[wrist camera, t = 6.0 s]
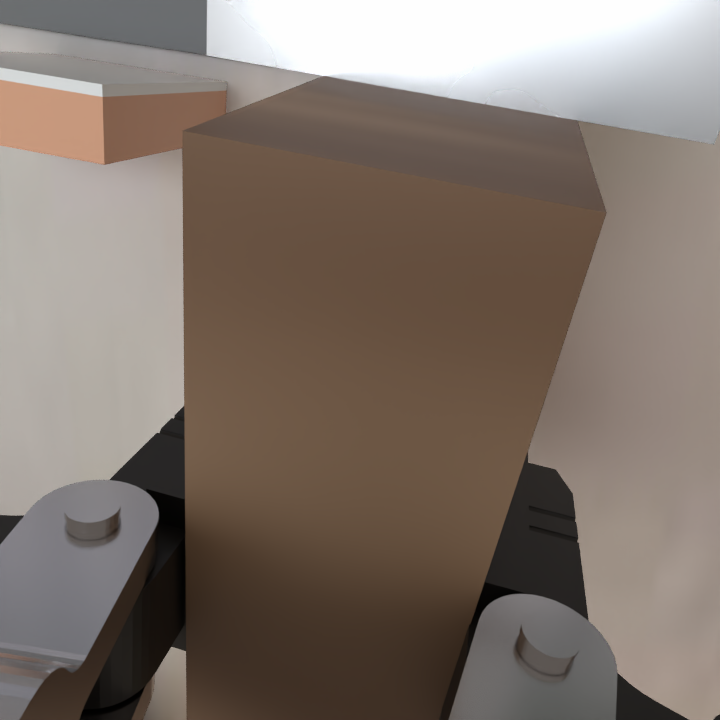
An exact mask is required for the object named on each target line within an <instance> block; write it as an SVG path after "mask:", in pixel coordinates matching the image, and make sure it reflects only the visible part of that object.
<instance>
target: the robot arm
mask: <svg viewBox="0 0 720 720" xmlns="http://www.w3.org/2000/svg"><path fill="white" fill-rule="evenodd" d="M575 518H576V517H575V509H574V501H573V493H572V492H571V491H570V489H569V488H568V486H567V485H566V484H565V482H564V481H563V479H562V478H561V476H560V475H559V474H558V472H557V471H556V470H555V469H551V468H547V467H543V466H539V465H535V464H531V463H528V452H527V455H526V458H525V461H524V464H523V467H522V470H521V473H520V476H519V479H518V482H517V485H516V488H515V491H514V494H513V497H512V500H511V503H510V506H509V509H508V512H507V515H506V518H505V521H504V524H503V527H502V530H501V533H500V536H499V540H498V543H497V546H496V549H495V552H494V555H493V558H492V561H491V564H490V567H489V570H488V573H487V576H486V579H485V582H484V585H483V588H482V591H481V594H480V597H479V600H478V603H477V606H476V609H475V612H474V615H473V618H472V621H471V624H470V625H469V627H468V630H467V633H466V636H465V639H464V642H463V645H462V648H461V651H460V654H459V658H458V661H457V664H456V667H455V670H454V673H453V676H452V679H451V682H450V685H449V688H448V691H447V694H446V697H445V701H444V704H443V707H442V712H441V715H440V718H439V720H688V719H687V718H685V717H683V716H681V715H679V714H678V713H676V712H674V711H672V710H670V709H669V708H667V707H665V706H663V705H661V704H660V703H658V702H656V701H654V700H653V699H651V698H649V697H648V696H646V695H644V694H643V693H641V692H640V691H639V690H637V689H636V688H635V687H633V686H632V685H631V684H629V683H628V682H627V681H626V680H625V679H624V678H623V677H621V676H620V675H619V674H618V673H617V665H616V661H615V658H614V655H613V653H612V650H611V648H610V646H609V645H608V643H607V642H606V640H605V639H604V637H603V636H602V635H601V633H600V632H599V631H598V630H597V629H596V628H595V627H594V626H593V625H592V624H591V623H590V622H589V621H588V613H587V605H586V597H585V589H584V581H583V573H582V565H581V557H580V549H579V543H577V540H578V533H577V525H576V522H575ZM171 647H175V648H178V649H181V650H185V651H186V554H185V418H184V407H183V408H182V409H181V410H180V411H179V412H178V413H176V414H175V418H174V419H173V418H171V419H170V420H169V421H168V422H167V423H166V424H165V425H164V426H163V427H162V428H161V431H160V433H156V434H155V435H154V436H153V437H152V438H151V439H150V440H149V441H148V442H147V443H146V444H145V445H144V446H143V447H142V448H141V449H140V450H139V451H138V452H137V453H136V454H135V455H134V456H133V457H132V458H131V459H130V460H129V461H128V462H127V463H126V464H125V465H124V466H123V467H122V468H121V469H120V470H119V471H118V472H117V473H116V474H115V475H114V476H113V477H112V478H111V479H110V480H91V481H83V482H78V483H74V484H70V485H67V486H64V487H61V488H59V489H56V490H54V491H52V492H51V493H49V494H47V495H45V496H44V497H42V498H41V499H40V500H38V501H37V502H36V503H35V504H34V505H33V506H32V507H31V508H30V510H29V511H28V512H27V513H26V514H25V516H7V515H0V720H143V718H144V716H145V713H146V711H147V708H148V706H149V703H150V701H151V698H152V695H153V691H154V684H155V672H156V671H157V669H158V667H159V666H160V664H161V662H162V661H163V659H164V658H165V656H166V654H167V653H168V651H169V649H170V648H171ZM714 720H720V715H718V716H716V717H715V718H714Z"/></svg>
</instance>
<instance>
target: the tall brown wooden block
mask: <svg viewBox="0 0 720 720" xmlns="http://www.w3.org/2000/svg"><path fill="white" fill-rule="evenodd" d="M207 55H208V56H213V57H219V58H225V59H230V60H236V61H242V62H247V63H253V64H259V65H265V66H270V67H276V68H282V69H287V70H293V71H299V72H304V73H310V74H316V75H321V76H322V77H320V78H317V79H315V80H312V81H309V82H307V83H304V84H302V85H299V86H297V87H294V88H291V89H289V90H286V91H284V92H281V93H278V94H276V95H273V96H271V97H268V98H266V99H263V100H260V101H258V102H255V103H253V104H250V105H248V106H245V107H242V108H240V109H237V110H235V111H232V112H230V113H227V114H224V115H222V116H219V117H217V118H214V119H212V120H209V121H206V122H204V123H201V124H199V125H196V126H193V127H191V128H188V129H186V130H183V131H182V144H183V281H184V418H185V554H186V691H187V720H439V718H440V715H441V712H442V707H443V704H444V701H445V697H446V694H447V691H448V688H449V685H450V682H451V679H452V676H453V673H454V670H455V667H456V664H457V661H458V658H459V654H460V651H461V648H462V645H463V642H464V639H465V636H466V633H467V630H468V627H469V625H470V624H471V621H472V618H473V615H474V612H475V609H476V606H477V603H478V600H479V597H480V594H481V591H482V588H483V585H484V582H485V579H486V576H487V573H488V570H489V567H490V564H491V561H492V558H493V555H494V552H495V549H496V546H497V543H498V540H499V536H500V533H501V530H502V527H503V524H504V521H505V518H506V515H507V512H508V509H509V506H510V503H511V500H512V497H513V494H514V491H515V488H516V485H517V482H518V479H519V476H520V473H521V470H522V467H523V464H524V461H525V458H526V455H527V452H528V449H529V446H530V443H531V440H532V437H533V434H534V431H535V427H536V424H537V421H538V418H539V415H540V412H541V409H542V406H543V403H544V400H545V397H546V394H547V391H548V388H549V385H550V382H551V379H552V376H553V373H554V370H555V367H556V364H557V361H558V358H559V355H560V352H561V349H562V346H563V343H564V340H565V337H566V334H567V331H568V328H569V325H570V322H571V319H572V315H573V312H574V309H575V306H576V303H577V300H578V297H579V294H580V291H581V288H582V285H583V282H584V279H585V276H586V273H587V270H588V267H589V264H590V261H591V258H592V255H593V252H594V249H595V246H596V243H597V240H598V237H599V234H600V231H601V228H602V225H603V222H604V219H605V216H606V210H605V206H604V203H603V200H602V197H601V194H600V191H599V188H598V185H597V181H596V178H595V175H594V172H593V169H592V166H591V163H590V159H589V156H588V153H587V150H586V147H585V144H584V141H583V138H582V134H581V131H580V128H579V125H578V122H577V121H583V122H589V123H595V124H600V125H606V126H612V127H617V128H623V129H629V130H634V131H640V132H646V133H651V134H657V135H663V136H669V137H674V138H680V139H686V140H691V141H697V142H703V143H708V144H714V143H715V141H716V138H717V136H718V133H719V131H720V0H207Z"/></svg>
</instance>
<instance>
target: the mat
mask: <svg viewBox="0 0 720 720" xmlns="http://www.w3.org/2000/svg"><path fill="white" fill-rule="evenodd" d="M0 23H3V24H10V25H16V26H22V27H29V28H35V29H42V30H48V31H55V32H61V33H68V34H74V35H81V36H87V37H94V38H100V39H107V40H113V41H119V42H126V43H132V44H139V45H145V46H152V47H158V48H165V49H171V50H178V51H184V52H191V53H197V54H204V55H207V0H0Z"/></svg>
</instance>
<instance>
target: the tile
mask: <svg viewBox="0 0 720 720" xmlns="http://www.w3.org/2000/svg"><path fill="white" fill-rule="evenodd" d="M226 94H227V82H226V81H219V80H213V79H207V78H201V77H195V76H188V75H182V74H176V73H170V72H163V71H157V70H151V69H145V68H138V67H132V66H126V65H120V64H113V63H107V62H101V61H95V60H88V59H82V58H76V57H70V56H63V55H57V54H44V53H22V52H0V145H1V146H6V147H12V148H17V149H23V150H28V151H33V152H39V153H44V154H50V155H55V156H60V157H66V158H71V159H77V160H82V161H88V162H93V163H98V164H104V165H105V164H110V163H114V162H119V161H124V160H128V159H133V158H138V157H142V156H147V155H152V154H156V153H161V152H166V151H170V150H175V149H180V148H183V144H182V131H183V130H186V129H188V128H191V127H193V126H196V125H199V124H201V123H204V122H206V121H209V120H212V119H214V118H217V117H219V116H222V115H224V114H226Z"/></svg>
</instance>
